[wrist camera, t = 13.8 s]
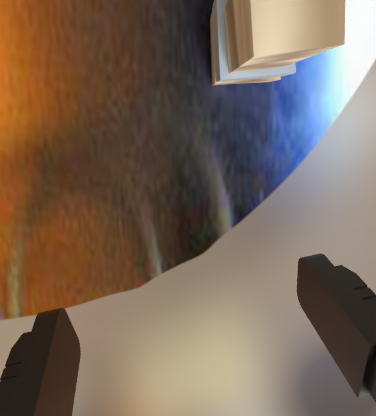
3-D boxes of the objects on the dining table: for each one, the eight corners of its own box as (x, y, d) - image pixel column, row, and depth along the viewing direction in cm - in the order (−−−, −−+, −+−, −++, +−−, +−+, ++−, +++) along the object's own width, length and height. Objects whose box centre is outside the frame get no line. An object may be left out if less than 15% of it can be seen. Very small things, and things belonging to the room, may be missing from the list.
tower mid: (216, 82, 30) (220, 79, 26) (212, 7, 28) (216, -7, 24) (281, 76, 30) (295, 72, 26) (282, 0, 28) (297, -15, 24)
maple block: (229, 73, 26) (253, 56, 16) (223, 9, 24) (247, -50, 15) (286, 65, 26) (344, 44, 16) (283, 1, 24) (346, -65, 15)
